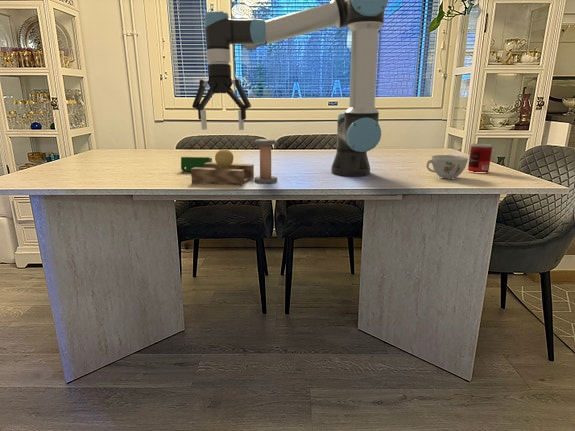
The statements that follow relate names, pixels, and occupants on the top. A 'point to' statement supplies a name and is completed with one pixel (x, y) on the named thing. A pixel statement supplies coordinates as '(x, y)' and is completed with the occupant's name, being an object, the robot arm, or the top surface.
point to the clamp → (193, 162)
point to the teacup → (447, 165)
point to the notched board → (223, 174)
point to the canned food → (480, 157)
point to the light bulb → (224, 158)
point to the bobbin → (265, 162)
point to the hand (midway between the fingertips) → (222, 129)
